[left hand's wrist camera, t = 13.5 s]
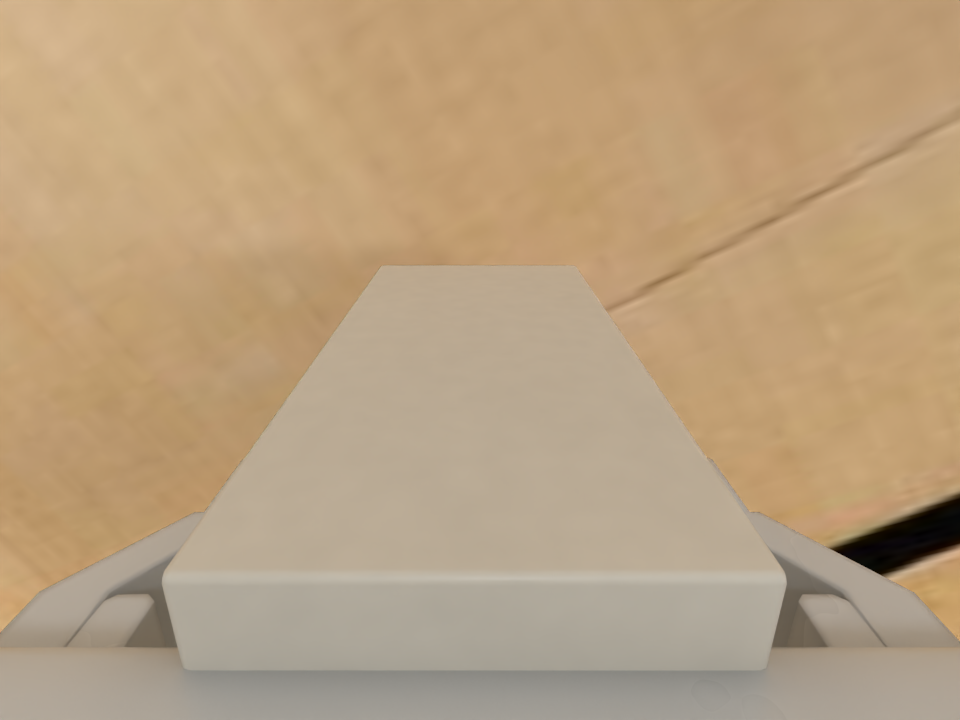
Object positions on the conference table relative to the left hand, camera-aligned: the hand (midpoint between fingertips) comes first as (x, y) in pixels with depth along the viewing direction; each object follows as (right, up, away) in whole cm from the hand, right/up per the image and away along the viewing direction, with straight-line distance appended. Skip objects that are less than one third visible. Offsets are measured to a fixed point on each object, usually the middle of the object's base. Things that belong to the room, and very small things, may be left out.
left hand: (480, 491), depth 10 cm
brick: (0, +2, +5) cm, 6 cm away
